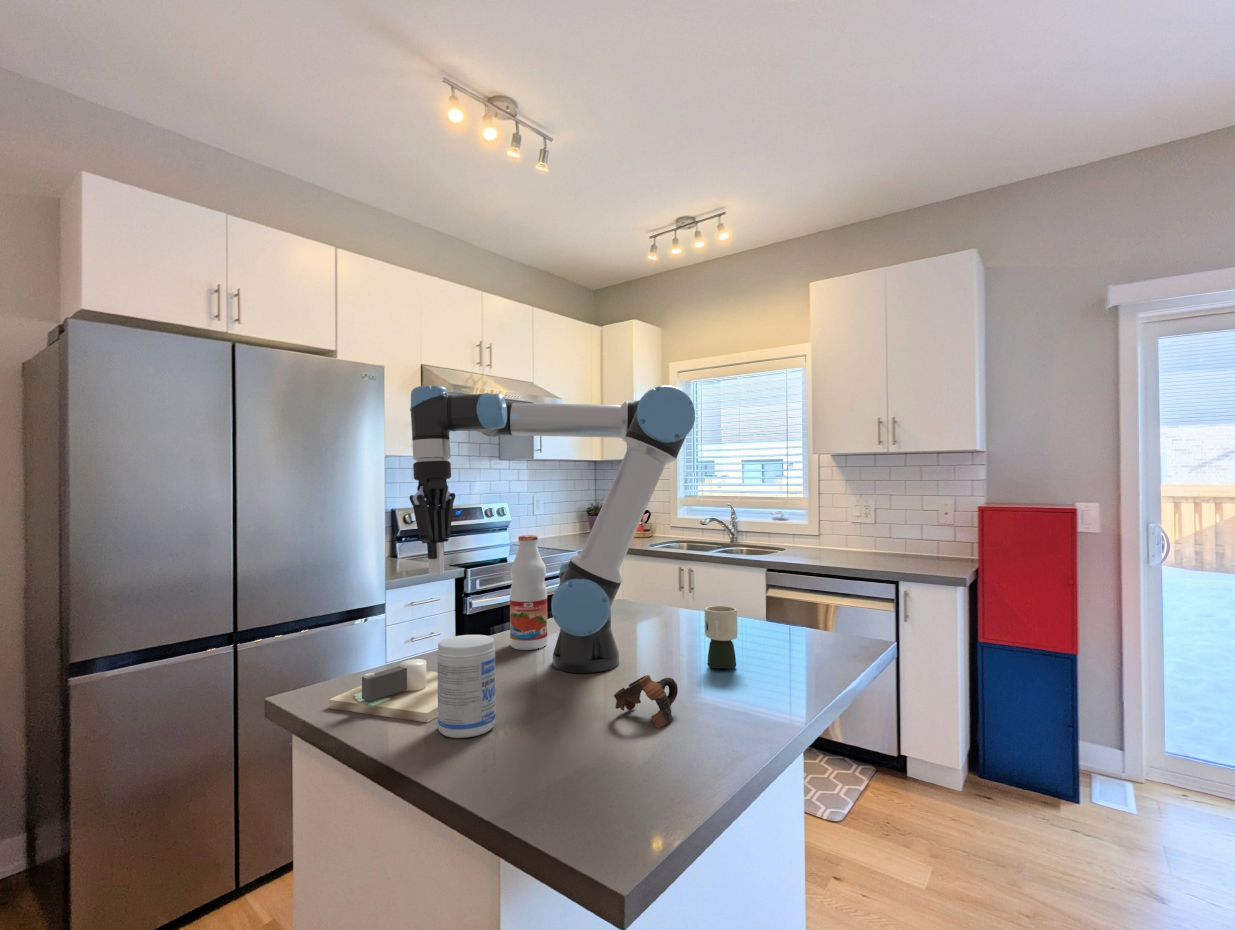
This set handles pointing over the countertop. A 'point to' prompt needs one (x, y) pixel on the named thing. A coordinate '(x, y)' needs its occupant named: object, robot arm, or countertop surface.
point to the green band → (372, 703)
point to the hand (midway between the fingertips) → (436, 574)
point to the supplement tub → (466, 685)
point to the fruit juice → (528, 597)
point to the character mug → (721, 635)
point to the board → (396, 702)
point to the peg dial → (394, 680)
